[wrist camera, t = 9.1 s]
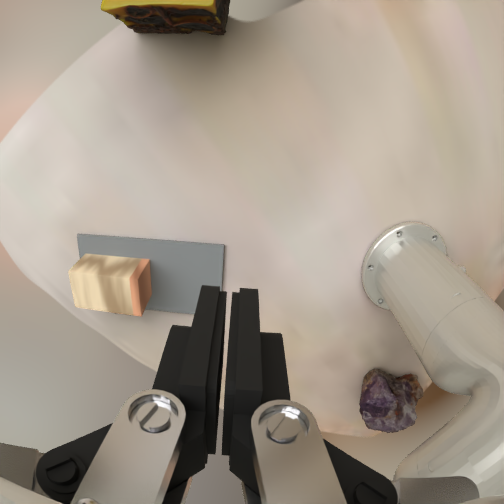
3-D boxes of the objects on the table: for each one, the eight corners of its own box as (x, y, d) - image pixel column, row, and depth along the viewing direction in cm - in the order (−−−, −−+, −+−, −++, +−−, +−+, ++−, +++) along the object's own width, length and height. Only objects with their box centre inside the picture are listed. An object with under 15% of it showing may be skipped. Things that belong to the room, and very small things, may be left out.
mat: (224, 244, 38) (223, 246, 38) (220, 314, 42) (220, 316, 42) (78, 233, 37) (76, 234, 37) (88, 299, 41) (87, 301, 41)
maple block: (137, 279, 34) (68, 271, 34) (141, 316, 36) (75, 306, 36) (149, 259, 38) (85, 253, 38) (151, 294, 41) (90, 286, 40)
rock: (378, 353, 48) (340, 393, 51) (389, 387, 40) (345, 428, 43) (424, 376, 48) (387, 412, 52) (438, 409, 40) (396, 446, 44)
